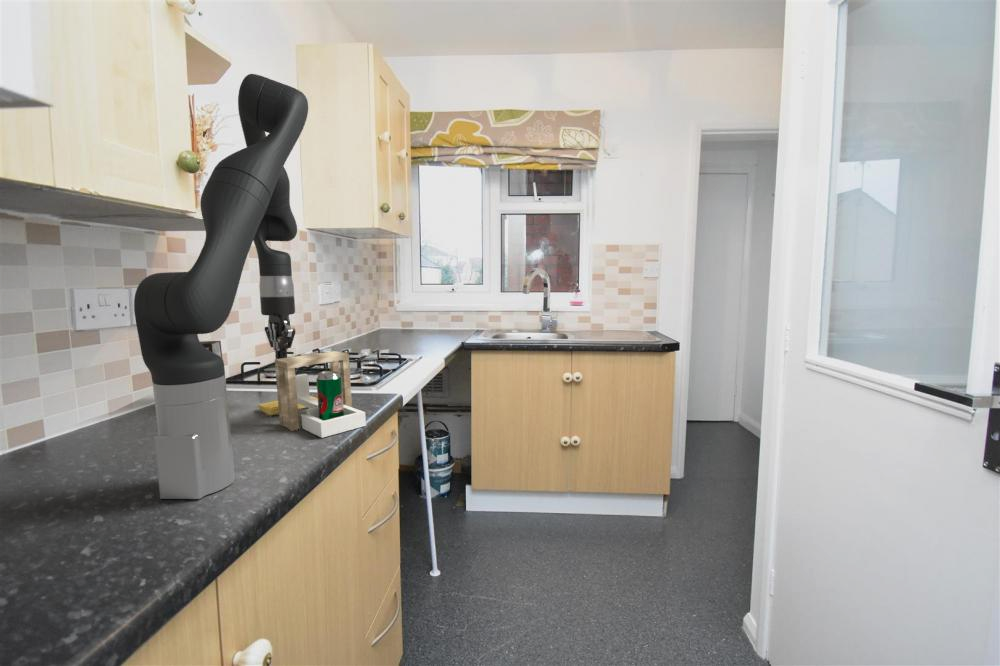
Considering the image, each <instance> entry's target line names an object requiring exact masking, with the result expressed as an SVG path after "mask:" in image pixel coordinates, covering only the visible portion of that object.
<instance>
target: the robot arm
mask: <svg viewBox="0 0 1000 666" xmlns="http://www.w3.org/2000/svg"><path fill="white" fill-rule="evenodd" d="M237 97H238V99H237V108H238V109H237V110H238V115H239V120H240V124H241V129H242V133H243V137H244V141H245V145H246V147H244V148H242V149H240V150H237V151H235V152H233V153H231V154H229V155H228V156H226V157H225V158H223V159H222V160H220V161H219V162H218V163H217V164H216V165H215V167H214V169H213V170H212V173H211V174H210V176H209V178H208V180H207V182H206V184H205V186H204V188H203V189H202V193H201V196H200V202H199V203H200V211H201V216H202V217H201V218H202V220H203V225H204V229H205V239H204V243H203V246H202V248H201V251H200V253H199V255H198V257H197V259H196V261H195V262H194V264H193V265H192V267H191V268H190V269H189V270H188V271H179V272H178V271H173V272H171V271H169V272H158V273H152V274H150V275H148V276H146V277H145V278H143V279H142V280H141V281H140V283H139V284H138V286H137V287H136V290H135V293H134V300H133V309H134V310H133V311H134V317H135V318H134V319H135V324H136V330H137V336H138V340H139V341H138V342H139V346H140V353H141V357H142V361H143V362H144V364H145V367H146V368H147V369H148V370H149V372H150V375H151V381H152V382H151V383H152V389H153V397H154V406H155V415H156V425H157V435H155V436H154V438H153V447H154V456H155V457H154V458H155V463H156V472H157V481H158V488H159V489H158V490H159V497H160V499H161V500H163V499H164V500H166V499H167V500H173V499H174V500H201V499H202V498H204V497H206V496H207V495H210V494H213V493H217V492H219V491H221V490H223V489H225V488H226V487H229V486H230V485H232V484H233V483H234V481H235V479H236V477H235V476H236V475H235V467H234V465H235V463H234V455H233V454H234V453H233V446H232V445H233V443H232V435H231V425H230V415H229V414H230V413H229V403H228V402H229V401H228V393H227V392H228V391H227V380H226V371H225V363H224V362H225V361H224V359H223V357H222V358H221V357H220V356H219V355H217V354H215V353H213V352H211V351H209V350H208V349H206V348H205V347H204V346H203V345H202V344H201V343H200V341H201V340H200V339H199V336H198V335H204V334H205V335H207V334H211V333H213V332H216V331H218V330H219V329H220V328H221V327H222V326H224V324H225V322H226V321H227V319H228V318H229V316H230V314H231V311H232V309H233V307H234V303H235V299H236V295H237V292H238V288H239V285H240V281H241V278H242V273H243V270H244V267H245V264H246V260H247V257H248V255H249V252H250V249H251V247H252V244H253V243H254V245H255V250H256V254H257V259H258V265H259V266H258V269H259V270H258V271H259V286H258V287H259V300H260V313H261V315H262V316H268V321H267V326H265V327H264V331H265V335H266V338H267V340H268V343H269V345H270V348H273V351H274V353H275V359H281V358H288V351H289V349H292V345H293V342H294V339H295V335H296V328H291V327H292V325H291V319H290V315H294V314H295V313H296V303H295V288H294V287H295V285H294V281H293V276H292V275H293V272H292V258H291V255H290V254H289V253H288V252H286V251H282V250H278V249H277V250H276V249H273V248H271V247H269V246H268V245H267V242H290V241H292V240H294V239H295V238H296V236H297V234H298V225H297V222H296V218H295V215H294V214H293V211H292V208H291V202H290V201H291V200H290V194H291V193H290V191H291V190H290V189H291V186H290V185H291V183H290V178H289V175H288V172H287V169H286V168H285V167H284V166H285V164H286V162H287V159H288V158H289V156H290V154H291V152H292V151H293V150H294V147H295V146H296V143H297V141H298V139H299V138H300V136H301V135H302V132H303V129H304V127H305V124H306V122H307V119H308V113H309V102H308V99H307V96H306V95H305V94H304V93H303V92H302V91H301V90H299V89H298V88H297V89H296V88H295V87H294V86H290V85H287V84H285V83H282V82H279V81H278V80H273V79H271V78H269V77H266V76H262V75H260V74H257V73H249V74H247V75H246V76H245V77H243V79H242V81H241V83H240V87H239V90H238V96H237ZM266 133H268V134H267V135H266Z"/></svg>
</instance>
